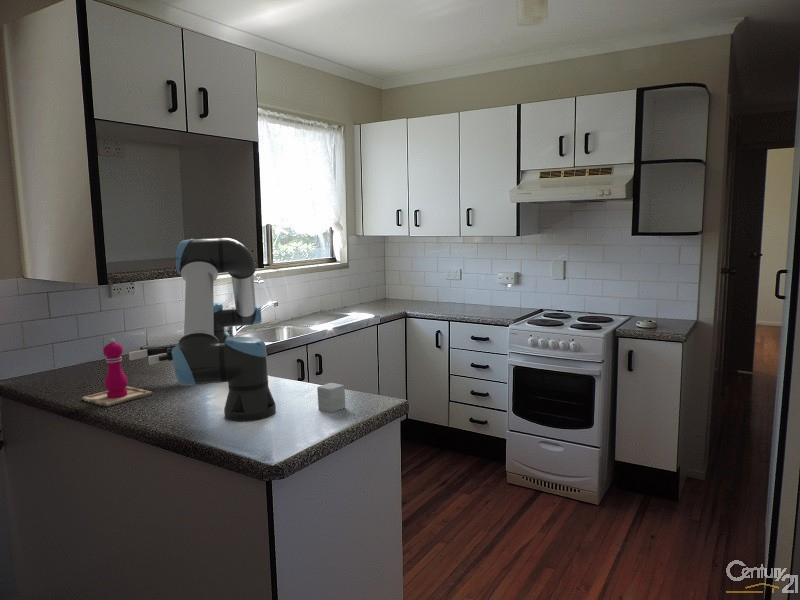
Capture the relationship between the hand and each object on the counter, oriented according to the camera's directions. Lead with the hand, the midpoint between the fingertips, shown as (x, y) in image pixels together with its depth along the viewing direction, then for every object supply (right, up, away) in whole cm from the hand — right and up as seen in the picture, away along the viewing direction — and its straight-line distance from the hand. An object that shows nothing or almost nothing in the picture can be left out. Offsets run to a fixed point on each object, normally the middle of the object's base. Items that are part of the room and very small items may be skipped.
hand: (138, 358), depth 209 cm
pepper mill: (-5, -13, -5) cm, 14 cm away
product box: (+71, -13, -27) cm, 77 cm away
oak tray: (-5, -13, -5) cm, 15 cm away
